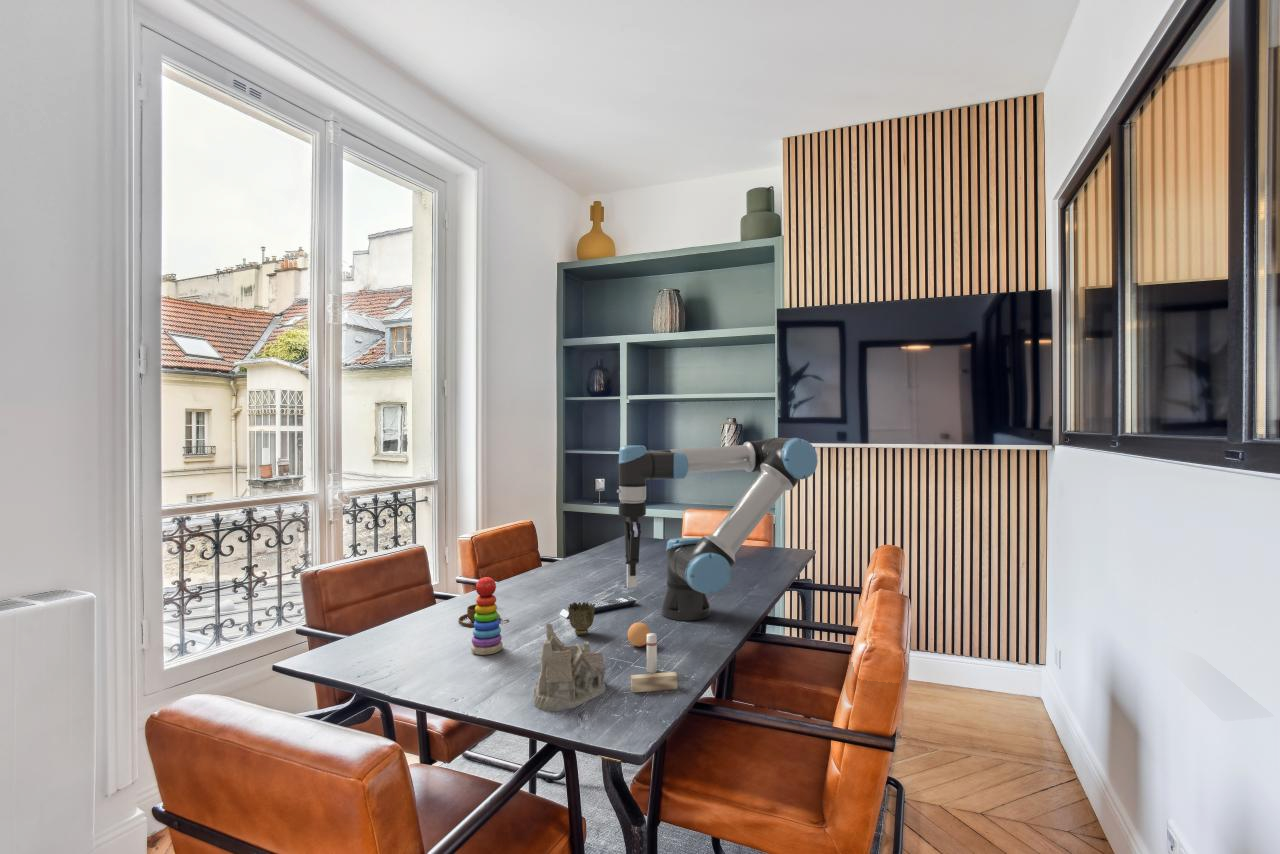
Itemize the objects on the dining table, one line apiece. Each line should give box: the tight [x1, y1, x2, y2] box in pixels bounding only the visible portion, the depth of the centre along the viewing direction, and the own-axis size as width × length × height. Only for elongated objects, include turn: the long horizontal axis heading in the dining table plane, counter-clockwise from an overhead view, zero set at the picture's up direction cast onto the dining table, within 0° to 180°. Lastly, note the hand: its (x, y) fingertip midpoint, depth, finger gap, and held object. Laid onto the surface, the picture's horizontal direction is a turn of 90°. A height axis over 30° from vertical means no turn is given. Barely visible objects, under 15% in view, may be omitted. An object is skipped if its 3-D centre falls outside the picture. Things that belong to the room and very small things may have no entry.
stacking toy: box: [470, 576, 504, 656], centre depth 162 cm, size 8×8×19 cm
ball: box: [627, 621, 651, 647], centre depth 165 cm, size 6×6×6 cm
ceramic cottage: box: [533, 622, 607, 712], centre depth 136 cm, size 16×16×15 cm
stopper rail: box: [630, 671, 678, 694], centre depth 138 cm, size 10×2×3 cm, turn 100°
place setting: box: [458, 603, 510, 628], centre depth 190 cm, size 18×20×6 cm
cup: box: [567, 601, 596, 637], centre depth 175 cm, size 8×7×8 cm
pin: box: [645, 632, 658, 674], centre depth 148 cm, size 2×2×8 cm
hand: (631, 586), depth 174 cm, fingers closed
